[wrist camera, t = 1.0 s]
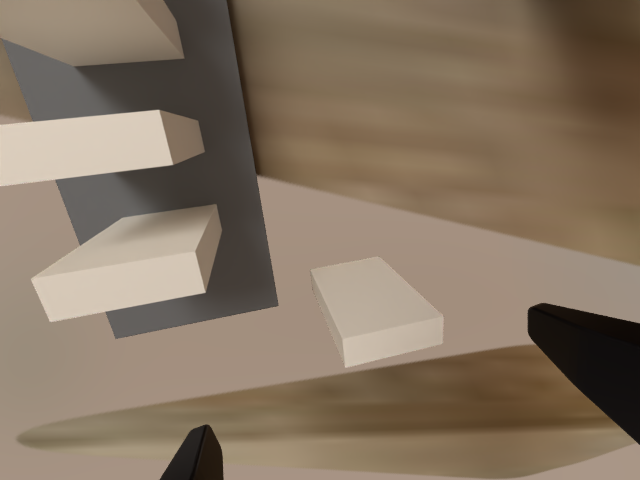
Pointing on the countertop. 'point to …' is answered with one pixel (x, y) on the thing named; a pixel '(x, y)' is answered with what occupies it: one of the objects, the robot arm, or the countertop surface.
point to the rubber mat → (174, 180)
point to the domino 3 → (134, 264)
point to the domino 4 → (374, 311)
